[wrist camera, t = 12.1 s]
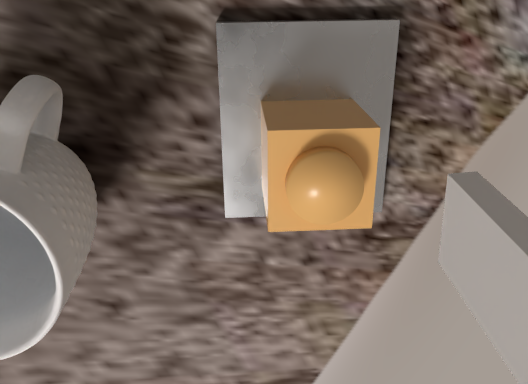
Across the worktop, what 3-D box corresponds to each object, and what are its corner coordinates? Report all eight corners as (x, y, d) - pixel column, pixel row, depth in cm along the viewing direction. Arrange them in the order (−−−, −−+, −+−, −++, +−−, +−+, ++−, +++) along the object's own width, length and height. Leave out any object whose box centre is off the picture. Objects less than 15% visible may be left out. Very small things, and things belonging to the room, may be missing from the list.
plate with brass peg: (216, 21, 33) (213, 32, 27) (394, 18, 33) (430, 28, 27) (225, 210, 39) (224, 255, 32) (377, 205, 39) (404, 248, 33)
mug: (-12, 28, 32) (-156, 60, 20) (152, 90, 34) (109, 152, 23) (-48, 219, 38) (-178, 334, 26) (96, 262, 40) (38, 386, 28)
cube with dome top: (260, 101, 34) (268, 137, 27) (352, 99, 34) (386, 134, 27) (261, 186, 37) (269, 241, 29) (347, 184, 37) (376, 237, 29)
